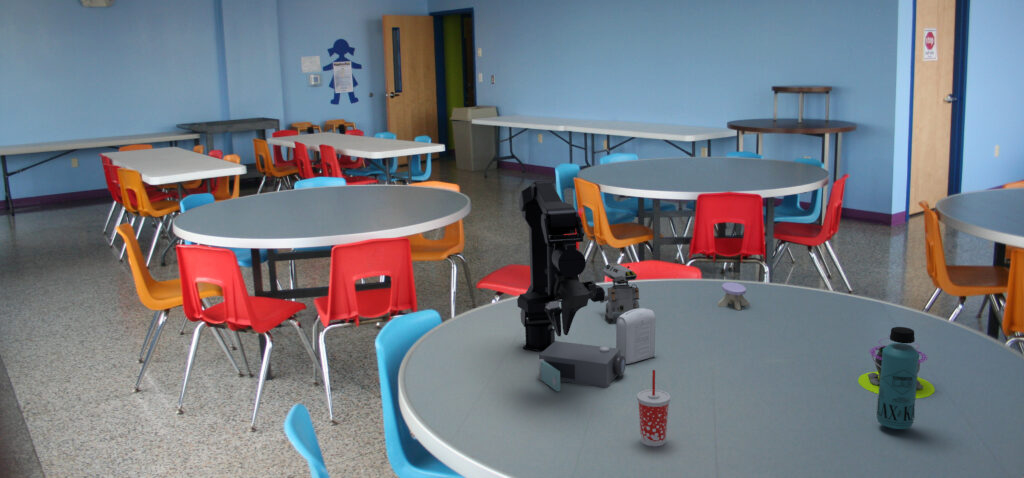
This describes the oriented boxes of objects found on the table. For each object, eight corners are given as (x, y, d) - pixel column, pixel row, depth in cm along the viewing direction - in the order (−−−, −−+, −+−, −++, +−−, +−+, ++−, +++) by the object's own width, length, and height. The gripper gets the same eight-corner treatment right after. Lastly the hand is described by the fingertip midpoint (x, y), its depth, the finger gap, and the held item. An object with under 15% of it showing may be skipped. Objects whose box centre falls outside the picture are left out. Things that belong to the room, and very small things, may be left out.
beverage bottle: (868, 423, 155) (875, 324, 151) (901, 420, 156) (909, 322, 152) (887, 438, 149) (894, 335, 145) (921, 435, 149) (929, 333, 145)
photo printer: (645, 352, 197) (645, 303, 194) (657, 356, 193) (658, 307, 191) (613, 361, 191) (613, 311, 189) (625, 366, 188) (625, 316, 185)
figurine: (629, 310, 230) (629, 259, 227) (642, 323, 219) (642, 269, 215) (598, 313, 228) (597, 262, 225) (609, 325, 217) (609, 272, 214)
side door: (537, 379, 181) (536, 359, 181) (542, 377, 182) (542, 358, 181) (555, 392, 174) (554, 372, 173) (561, 390, 174) (560, 371, 173)
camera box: (539, 378, 183) (538, 352, 181) (555, 362, 192) (555, 338, 190) (614, 388, 175) (614, 362, 174) (627, 372, 184) (627, 346, 183)
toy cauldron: (842, 379, 177) (845, 332, 174) (892, 368, 183) (895, 321, 180) (899, 404, 163) (903, 353, 161) (951, 391, 169) (955, 341, 167)
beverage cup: (662, 451, 147) (663, 379, 144) (631, 443, 150) (631, 373, 147) (674, 437, 152) (675, 367, 149) (644, 430, 155) (644, 362, 152)
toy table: (715, 300, 237) (716, 282, 236) (747, 301, 236) (747, 282, 235) (719, 310, 228) (719, 291, 226) (752, 311, 226) (752, 291, 225)
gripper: (539, 280, 160) (541, 354, 163) (618, 267, 168) (619, 339, 171) (515, 268, 170) (517, 338, 173) (591, 257, 178) (592, 324, 181)
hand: (562, 335), depth 174 cm, fingers closed
